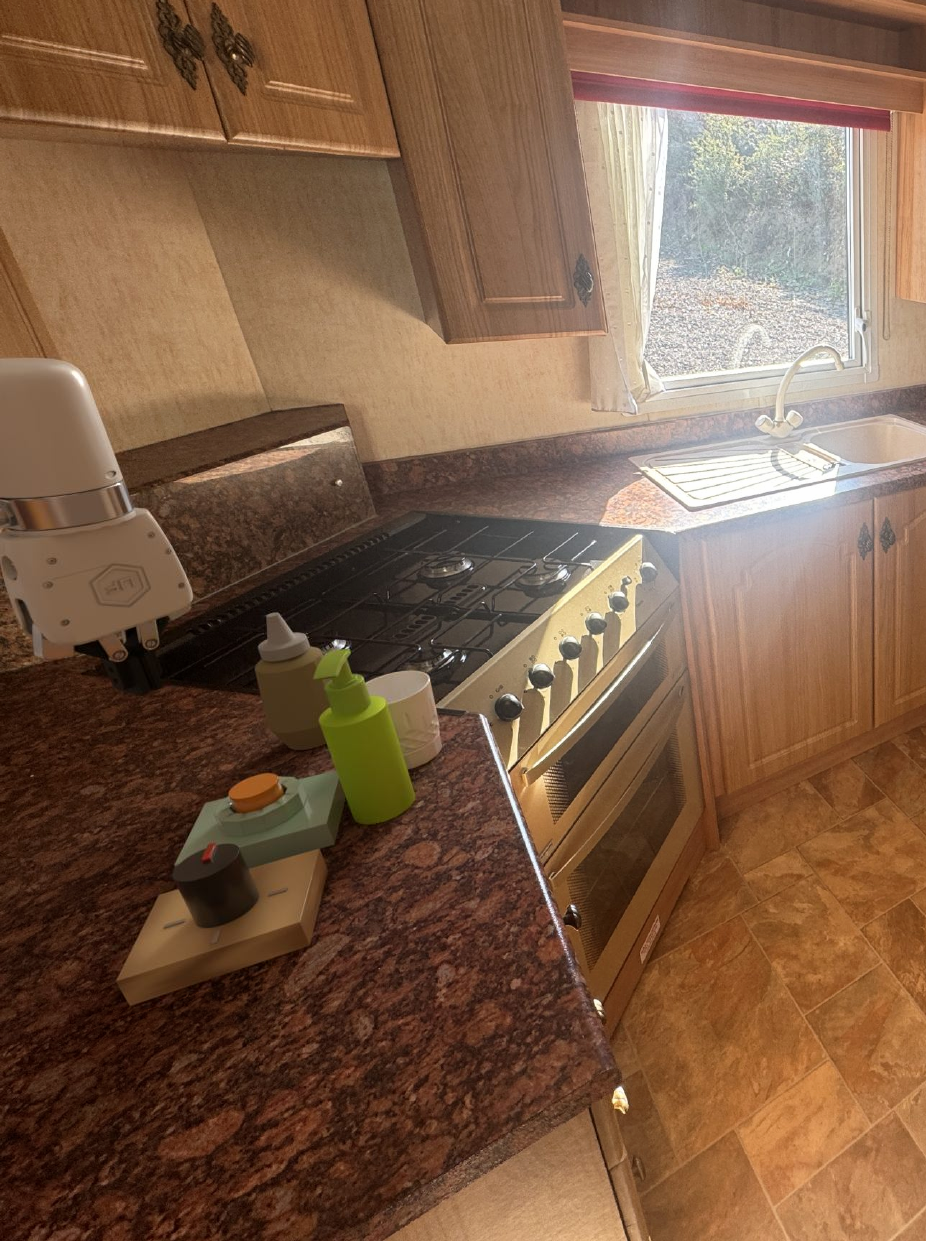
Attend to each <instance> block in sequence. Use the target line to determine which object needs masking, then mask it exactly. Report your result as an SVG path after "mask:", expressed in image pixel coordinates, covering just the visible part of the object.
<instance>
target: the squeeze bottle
mask: <svg viewBox="0 0 926 1241" xmlns="http://www.w3.org/2000/svg"><path fill="white" fill-rule="evenodd" d="M266 635H267V636H266V637H267V639H265V640H263V641H262V642H260V643H259V644H258V646H257V650H258V652H259V655H260V658H261V659H260V660H259V661H258V662H257V664H256V665H255V667H254V672H255V676H256V677H255V678H256V681H257V685H258V690H259V694H260V699H261V704H262V708H263V712H264V716H265V721H266V725H267V728H268V729H269V730H270V732H272V734H274V735H275V736H276V738H277V739H279V740H280V741H281V742H282V743H283V744H284V745H285V746H287V748H288V749H289V750H294V751H306V750H311V749H315V748H319V747H322V746H324V745H327V743H326V740H325V737H324V734H323V731H322V729H321V726H320V723H319V717H320V716H321V714H322V713H323V712H324V711H326V710H327V709H328V708H330V704H329V702H328V699H327V696H326V693H325V690H324V687H325V685H326V684H327V683H328V682H329V681H331V680H332V678H328V679H322V680H316V681H315V680H314V679H313V678H314V674H315V671H316V669H317V666H318V664H319V663H320V661H321V660H322V658H323V657H324V656H325V654H324V652H323V651H322V650H321V649H320V648H318V647H315V646H311V645H310V642H309V640H308V637H307V635H306V634H305V633H303V632H293V631H292V630H291V628H290V626H289V625H288V624H287V622H286V621H285V619H284V618H283V617H282V615H281V614H280V613H279V612H272V613H269V614H267V615H266Z"/></svg>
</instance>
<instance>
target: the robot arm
mask: <svg viewBox="0 0 926 1241" xmlns="http://www.w3.org/2000/svg"><path fill="white" fill-rule="evenodd" d="M0 527H1V528H5V530H4V531H0V570H1V573H2V579H3V582H4V586H5V588H6V591H7V595H8V598H9V601H10V604H11V608H12V610H13V612H14V614H15V617H16V619H17V622H18V623H19V625H20V628H21V630H22V631H23V632H24V634H25V635H26V636H27V637H29V638H31V639H32V647H33V648H32V649H33V656H34V657H35V658H38V659H43V660H46V661H54V660H59V659H65V658H70V657H75V656H79V655H86V656H90V657H94V658H98V659H100V660H101V661H102V664H103V666H104V669H105V672H106V673H107V675H108V678H109V681H110V683H111V685H112V686H113V687H114V689H116V690H117V691H121V692H123V693H127V694H132V695H136V696H140V697H144V696H147V695H148V694H151V691H157V690H158V691H159V690H160V689H162V688H164V683H163V681H162V678H161V676H162V675H163V674H164V670H163V668H162V666H161V663H160V661H159V658H158V656H157V652H156V650H155V649H157V648H158V647H159V645H160V637H161V635H162V634H163V632H164V631H165V629H166V627H167V626H168V624H169V623H170V622H173V621H176V620H177V619H179V618H180V617H182V616H183V615H185V614H187V613H189V612H190V611H191V609H192V606H191V603H192V602H193V600H194V594H193V589H192V586H191V583H190V581H189V579H188V577H187V574H186V572H185V570H184V568H183V565H182V563H181V561H180V559H179V557H178V555H177V553H176V551H175V550H174V548H173V545H172V544H171V543H170V541H169V539H168V537H167V536H166V534H165V533H164V530H163V529H162V527H161V526H160V525H159V523H158V522H157V520H156V519H155V518H154V516H153V515H152V513H151V512H150V511H149V510H148V509H147V508H144V507H143V508H142V507H135V505H134V503H133V500H132V498H131V495H130V493H129V489H128V487H127V484H126V481H125V478H124V477H123V474H122V472H121V469H120V465H119V463H118V460H117V457H116V455H115V451H114V449H113V447H112V443H111V441H110V439H109V437H108V433H107V430H106V427H105V425H104V422H103V420H102V417H101V415H100V412H99V409H98V406H97V404H96V401H95V398H94V396H93V393H92V391H91V387H90V385H89V383H88V381H87V378H86V375H85V374H84V373H83V372H82V371H81V370H80V369H79V368H78V367H77V366H76V365H75V364H73V363H70V362H68V361H65V360H61V359H56V358H45V357H5V358H3V357H2V358H0ZM118 633H120V634H121V638H122V641H121V640H120V639H119V637H118V635H117V634H118Z"/></svg>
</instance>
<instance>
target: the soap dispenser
mask: <svg viewBox="0 0 926 1241" xmlns="http://www.w3.org/2000/svg"><path fill="white" fill-rule="evenodd" d="M351 653H352V652H351V649H350V648H343V649H336V650H330V651H327V652H326V653H325V654H324V657H323V658H322V660H321V661H320V663H319V664H318V666H317V669H316V671H315V674H314V678H313V679H314V680H315V681H316V680H322V679H328V678H332V680H331V681H329V682H328V683H327V684H326V685H325V687H324V690H325V693H326V696H327V699H328V702H329V704H330V708H328V709H327V710H326V711H324V712H323V713H322V714H321V716H320V717H319V723H320V726H321V729H322V731H323V734H324V737H325V740H326V743H327V744H326V745H327V748H328V751H329V754H330V757H331V760H332V763H333V765H334V768H335V770H336V771H337V774H338V776H339V779H340V782H341V785H342V788H343V790H344V793H345V796H346V801H347V805H348V807H349V810H350V812H351V816H352V818H353V820H354V821H355V823H358V824H360V825H377V824H380V822H381V823H384V822H388V821H390V820H393V819H395V818H397V817H399V816H400V815H402V814H403V813H405V812H406V811H407V810H408V809H410V808H411V806H412V805H413V804H414V802H415V800H416V793H415V790H414V787H413V783H412V780H411V777H410V773H409V771H408V770H409V769H408V770H407V767H406V764H405V760H404V757H403V754H402V751H401V747H400V744H399V741H398V738H397V735H396V731H395V728H394V725H393V722H392V719H391V715H390V712H389V709H388V706H387V702H386V700H385V699H384V698H383V697H381V696H375V695H369V693H368V690H367V687H366V684H365V683H366V682H365V678H364V676H362V675H361V674H357V673H352V671H351V670H352V669H351V667H350V663H349V661H348V658H349V656H350V655H351ZM376 823H377V824H376Z"/></svg>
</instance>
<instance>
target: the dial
mask: <svg viewBox="0 0 926 1241" xmlns="http://www.w3.org/2000/svg"><path fill="white" fill-rule="evenodd" d="M171 876H172V879H173V882H174V883H175V886H176V887H177V889H179V891H180V893H181V895H182V897H183V899H184V902H185V904H186V906H187V908H188V910H189V912H190V914H191V916H192V918H193V920H194V922H195V924H196V925H197V926H199V927H202V928H211V927H216V926H220V925H223V924H226V923H228V922H231V921H233V920H235V919H237V918H238V917H240V916H242V915H243V914H245V913H246V912H247V911H248V910H250V909H251V908H252V907H253V906H254V905H255V903H256V902H257V900H258V898H259V892H258V890H257V887H256V885H255V883H254V881H253V878H252V876H251V874H250V871H249V869H248V867H247V865H246V862H245V860H244V858H243V855H242V853H241V851H240V849H239V847H238V846H237V845H235V844H229V843H227V844H219V845H216V843H212V844H208V845H207V848H205V849H203V850H200V851H198V852H196V853H194V854H192V855H191V856H189V857H188V858H186V859H185V860H183V861H182V862H181V863H180V864H179V865H178V866H177V867H176V868H175V867H174V869H173V871H172V875H171Z"/></svg>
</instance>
